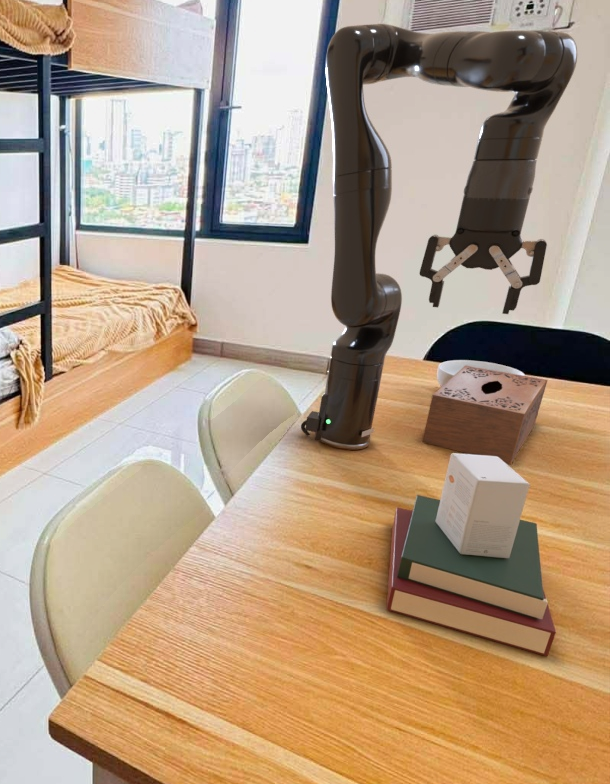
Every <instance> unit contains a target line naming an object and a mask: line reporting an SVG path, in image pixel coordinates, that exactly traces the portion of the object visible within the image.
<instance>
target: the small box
mask: <svg viewBox="0 0 610 784" xmlns="http://www.w3.org/2000/svg"><path fill="white" fill-rule="evenodd" d="M448 461H449V462H448V465H447V470H446V474H445V477H444V482H443V488H442V491H441V496H440V499H439V500H440V504H439V508H438V512H437V517H436V523H437V524H438V526H439V527H440V528H441V529H442V531H443V532H444V533H445V535H446V536H447V537H448V539H449V540H450V541H451V543H452V544H453V545H454V546H455V548H456V549H457V550H458V551H459V553H460V554H465V555H476V556H487V557H498V558H509V557H510V554H511V550H512V547H513V543H514V539H515V536H516V532H517V529H518V525H519V522H520V520H521V517H522V515H523V511H524V507H525V504H526V500H527V496H528V492H529V489H530V487H531V486H530V485H531V484H530V482H528V481H527V480H526V479H525V478H523V477H522V476H521V475H520V474H519V473H518V472H517V471H516V470H514V469H513V468H512V467H511V466H510V465H509V464H507V463H505V462H504V461H502V460H501V459H500V458H499V457H497V456H486V455H472V454H468V453H458V452H457V453H454V452H452V453H451V454H450V456H449V460H448Z"/></svg>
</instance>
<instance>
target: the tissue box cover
mask: <svg viewBox="0 0 610 784" xmlns="http://www.w3.org/2000/svg"><path fill="white" fill-rule="evenodd" d="M547 384H548V379H544V378H538V377H533V376H527V375H525V376H522V375H517V374H511V373H505V372H500V371H494V370H488V369H483V368H477V367H471V366H466V365H465V366H464V367H463V368H462V369H461V370H460V371H459V372H457V373H456V374H455V375H454V376H453V377H452V378H451V379H450V380H449V381H448V382H446V383H445V384H444V385H443V386H442V387H441V386H440V388H438V389H437V390H436V391H435V392H434V393H433V394H432V396H431V401H430V405H429V410H428V413H427V418H426V423H425V427H424V432H423V435H422V440H421V441H422V443H426V444H428V445H429V444H430V445H433V446H437V447H440V448H444V449H449V450H452V451H457V452H460V453H463V454H472V455H486V456H497V457H499V458H500V459H501V460H502V461H504V462H505V463H506V464H507V465H512V463H513V461H514V459H515V458H516V456H517V454H518V453H519V451H520V450H521V448H522V446H524V443H525V442H526V440H527V438H528V436H529V435H530V433H531V431H532V430H533V429H534V426H535V424H536V421H537V418H538V415H539V412H540V407H541V404H542V401H543V397H544V394H545V391H546V387H547Z"/></svg>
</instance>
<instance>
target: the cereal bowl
mask: <svg viewBox="0 0 610 784" xmlns="http://www.w3.org/2000/svg"><path fill="white" fill-rule="evenodd" d="M465 365H466V366H471V367H477V368H483V369H488V370H494V371H500V372H505V373H511V374H517V375H522V376H526V374H525V373H524V372H523V371H521V370H519V369H517V368H514V367H511V366H508V365H507V366H506V365H503V364H498V363H495V362H488V361H480V360H471V359H470V360H469V359H453V360H447V361H443V362H441V363H439V364H438V366H437V370H436V379H437V383H438V384H439V387H440V388H441V387H442V386H443V385H444V384H445V383H446V382H448V381H449V380H450V379H451V378H452V377H453V376H454V375H455V374H456V373H457V372H459V371H460V370H461V369H462V368H463V367H464V366H465Z"/></svg>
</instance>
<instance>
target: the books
mask: <svg viewBox="0 0 610 784" xmlns="http://www.w3.org/2000/svg"><path fill="white" fill-rule="evenodd" d="M440 500H441V499H436V498H433V497H429V496H426V495H425V496H424V495H421V494H416V497H415V501H414V505H413V509H412V510H411V509H407V508H402V507H398V506H397V507H396V508H395V512H394V518H393V522H392V530H391V540H390V541H391V543H390V555H389V571H388V583H387V584H388V585H387V598H386V599H387V600H386V611H389V612H392V613H396V614H399V615H403V616H406V617H409V618H413V619H415V620H416V619H417V620H421V621H423V622H427V623H430V624H433V625H437V626H441V627H444V628H447V629H451V630H454V631H458V632H460V633H461V632H462V633H464V634H468V635H472V636H475V637H478V638H482V639H486V640H489V641H493V642H496V643H499V644H503V645H506V646H510V647H513V648H516V649H520V650H523V651H527V652H529V653H532V654H533V653H534V654H537V655H541V656H544V657H549V653H550V650H551V647H552V645H553V642H554V639H555V637H556V634H557V631H556V627H555V624H554V621H553V617H552V613H551V611H550V608H549V607H550V606H549V604H548V603H549V600H548V599H547V596H546V593H545V590H544V587H543V575H542V567H541V564H542V563H541V555H540V546H539V533H538V526H537V525H538V524H537V523H536V522H532V521H529V520H524V519H520V522H519V525H518V529H517V532H516V536H515V539H514V543H513V547H512V550H511V554H510V557H509V558H498V557H487V556H476V555H465V554H460V553H459V551H458V550H457V549H456V548H455V546H454V545H453V544H452V543H451V541H450V540H449V539H448V537H447V536H446V535H445V533H444V532H443V531H442V529H441V528H440V527H439V526H438V524H437V523H436V517H437V512H438V508H439V504H440Z"/></svg>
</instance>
